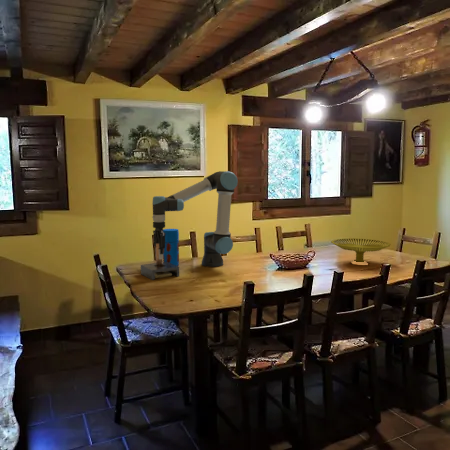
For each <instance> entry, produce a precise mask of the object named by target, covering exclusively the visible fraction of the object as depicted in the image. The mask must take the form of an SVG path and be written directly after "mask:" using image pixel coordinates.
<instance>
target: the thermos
mask: <svg viewBox="0 0 450 450" xmlns="http://www.w3.org/2000/svg"><path fill="white" fill-rule="evenodd" d="M163 232H164V233H166V234H165V248H164V249H163V262H169V263H171V264H173V265H176V266H178V267H180V263H179V262H180V243H179V242H180V241H179V240H180V235H179V234H180V233H179V229H177V228H163Z"/></svg>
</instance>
